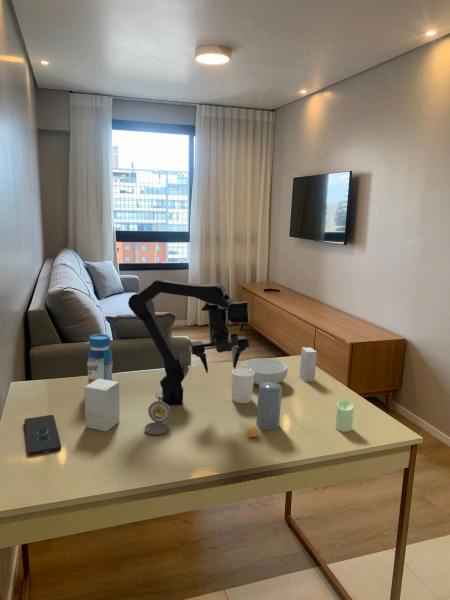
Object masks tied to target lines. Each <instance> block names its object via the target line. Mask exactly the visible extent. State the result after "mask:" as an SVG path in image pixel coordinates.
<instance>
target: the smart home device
mask: <svg viewBox="0 0 450 600" xmlns="http://www.w3.org/2000/svg"><path fill="white" fill-rule="evenodd" d="M23 428H24V434H25V435H24V436H25V439H26V450H27V455H28V457H31V456H32V457H34V456H38V455H43V454H47V453H48V454H49V453H54V452H60V451H61V450H62V445H61V444H62V443H61V440H60V439H61V438H60V435H59V432H58V428H57V423H56V420H55V416H54V415H53V414H50V415H42V416H35V417H28V418H27V417H26V418H25V419H24V427H23Z"/></svg>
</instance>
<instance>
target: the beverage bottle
mask: <svg viewBox="0 0 450 600" xmlns="http://www.w3.org/2000/svg"><path fill="white" fill-rule="evenodd" d="M110 346H111V336H110V335H108V334H103V333H97V334H91V336H90V335H89V347H90V349H89V350H88V353H87V359H88V360H87V363H86V367H87V385H89V384H90V383H92V382H94V381H95V380H97V379H104V380H109V381H113V365H114V364H113V363H114V361H113V359H112V358H113V353H112V351H111V349H110Z"/></svg>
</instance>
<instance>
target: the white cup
mask: <svg viewBox="0 0 450 600" xmlns="http://www.w3.org/2000/svg"><path fill="white" fill-rule="evenodd" d="M254 375H255V372H254V371H253V370H250V369H246V368H243V367H238V368H237V367H236V368H235V369H234V368H233V369H232V370H231V380H230V381H231V400H232V401H233V402H234V403H237V404H248V403H250V402H251V401H252V397H253V391H254V384H255V383H254Z"/></svg>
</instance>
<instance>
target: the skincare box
mask: <svg viewBox="0 0 450 600" xmlns="http://www.w3.org/2000/svg"><path fill="white" fill-rule="evenodd" d="M317 357H318V351H316V349H314V348H313V347H301V352H300V366H299V376H298V377H299V378H301V379H302V380H303V381H304V382H314V381H315V379H316V378H315V377H316V370H317V369H316V368H317V359H318V358H317ZM315 382H316V381H315Z"/></svg>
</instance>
